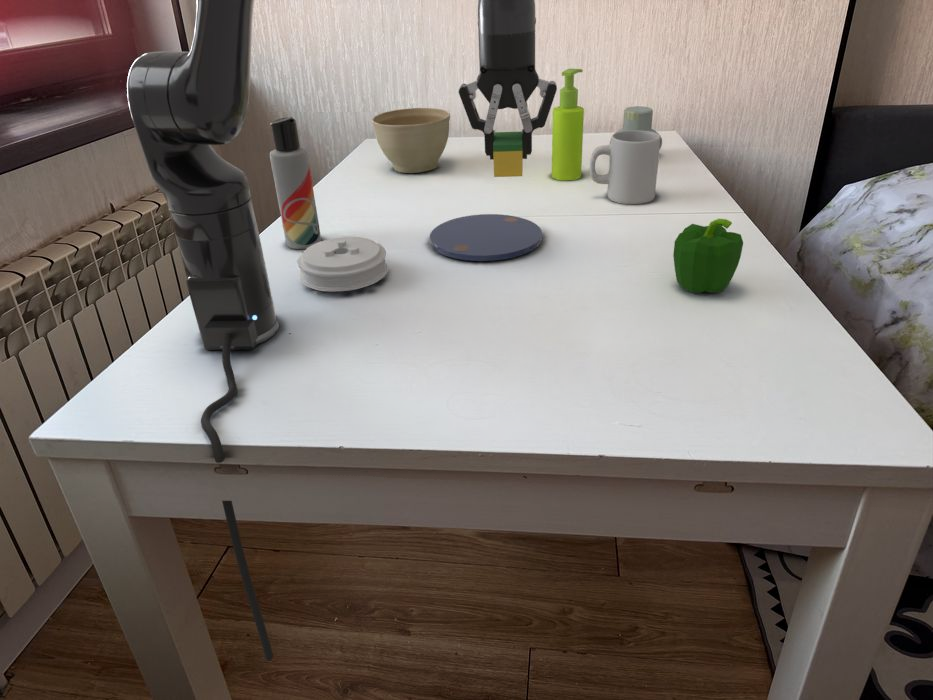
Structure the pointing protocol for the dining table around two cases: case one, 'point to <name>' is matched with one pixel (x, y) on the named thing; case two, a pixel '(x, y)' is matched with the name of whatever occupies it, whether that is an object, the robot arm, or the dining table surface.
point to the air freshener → (638, 120)
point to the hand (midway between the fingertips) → (508, 157)
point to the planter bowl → (412, 137)
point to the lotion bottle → (294, 186)
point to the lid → (342, 264)
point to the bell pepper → (707, 256)
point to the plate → (485, 237)
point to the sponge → (508, 154)
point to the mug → (629, 166)
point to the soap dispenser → (567, 132)
